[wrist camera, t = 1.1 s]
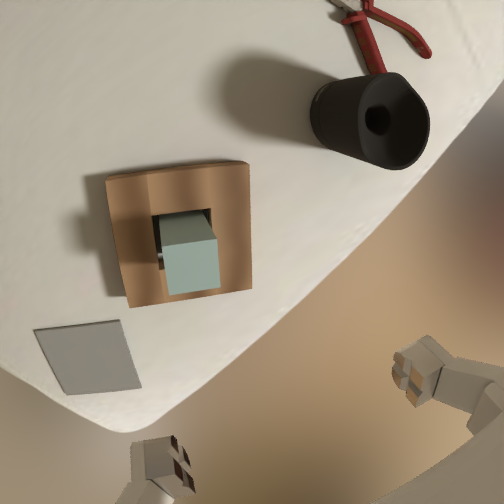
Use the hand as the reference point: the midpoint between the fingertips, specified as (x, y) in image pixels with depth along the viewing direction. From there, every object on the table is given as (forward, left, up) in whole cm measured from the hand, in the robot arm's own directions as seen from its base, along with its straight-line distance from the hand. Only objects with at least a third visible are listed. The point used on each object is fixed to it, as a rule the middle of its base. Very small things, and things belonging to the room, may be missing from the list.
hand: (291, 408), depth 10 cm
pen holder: (+18, +9, -27) cm, 33 cm away
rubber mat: (-16, -19, -27) cm, 36 cm away
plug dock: (-1, -3, -27) cm, 27 cm away
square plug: (-1, -3, -27) cm, 27 cm away
